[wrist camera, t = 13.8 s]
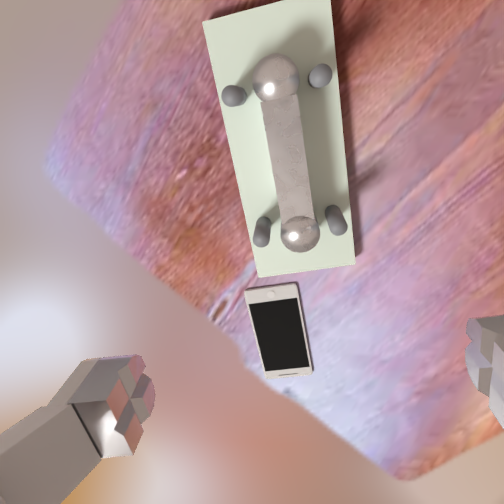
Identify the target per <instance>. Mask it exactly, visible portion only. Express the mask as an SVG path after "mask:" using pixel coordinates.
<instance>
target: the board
mask: <svg viewBox="0 0 504 504" xmlns="http://www.w3.org/2000/svg"><path fill="white" fill-rule="evenodd" d="M202 24H203V28H204V33H205V37H206V42H207V46H208V51H209V55H210V60H211V64H212V69H213V73H214V78H215V82H216V87H217V91H218V96H219V101H220V105H221V110H222V114H223V119H224V123H225V128H226V132H227V137H228V141H229V146H230V150H231V155H232V159H233V164H234V168H235V173H236V177H237V182H238V187H239V191H240V196H241V200H242V205H243V209H244V214H245V218H246V223H247V227H248V232H249V236H250V241H251V245H252V250H253V254H254V259H255V263H256V268H257V272H258V277H259V278H261V277H268V276H275V275H282V274H289V273H297V272H304V271H311V270H318V269H325V268H333V267H340V266H347V265H354V264H356V263H355V252H354V242H353V231H352V221H351V210H350V200H349V189H348V179H347V168H346V158H345V147H344V137H343V126H342V116H341V105H340V95H339V84H338V74H337V63H336V53H335V42H334V32H333V21H332V11H331V0H282V1H279V2H275V3H271V4H268V5H264V6H260V7H256V8H253V9H249V10H245V11H241V12H238V13H234V14H230V15H226V16H223V17H219V18H215V19H212V20H208V21H204V22H202ZM274 53H279V54H284V55H286V56H288V57H289V58H290V59H292V60H293V62H294V63H295V64H296V66H297V69H298V72H299V86H298V89H297V91H296V93H295V94H297V97H298V104H299V111H300V118H301V125H302V133H303V140H304V147H305V154H306V161H307V169H308V176H309V183H310V190H311V197H312V205H313V211H314V213H315V214H316V217H317V221H318V225H319V229H320V239H319V241H318V243H317V245H316V246H315V247H314V248H313V249H311V250H309V251H307V252H303V253H297V252H293V251H291V250H289V249H287V248H286V247H285V246H284V244H283V243H282V241H281V236H280V232H281V216H280V210H279V204H278V199H277V193H276V188H275V182H274V176H273V171H272V165H271V160H270V154H269V148H268V143H267V137H266V132H265V126H264V120H263V115H262V109H261V104H260V102H262V101H261V100H260V99H259V98H258V97H257V95H256V93H255V91H254V89H253V83H252V77H253V72H254V69H255V67H256V65H257V64H258V62H259V61H260V60H261V59H262V58H264V57H265V56H267V55H270V54H274Z"/></svg>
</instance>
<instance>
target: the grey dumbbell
mask: <svg viewBox="0 0 504 504" xmlns="http://www.w3.org/2000/svg"><path fill="white" fill-rule="evenodd" d="M252 83H253V89H254V91H255V93H256V95H257V97H258V98H259V99H260V100H261V101H262V102H260V104H261V109H262V115H263V120H264V126H265V132H266V137H267V143H268V148H269V154H270V160H271V165H272V171H273V176H274V182H275V188H276V193H277V199H278V204H279V210H280V216H281V232H280V236H281V241H282V243H283V244H284V246H285V247H286V248H287V249H289V250H291V251H293V252H297V253H303V252H307V251H309V250H311V249H313V248H314V247H315V246H316V245H317V243H318V241H319V239H320V229H319V225H318V221H317V217H316V214H315V213H314V211H313V205H312V197H311V190H310V183H309V176H308V169H307V161H306V154H305V147H304V140H303V133H302V125H301V118H300V111H299V104H298V97H297V94H295V93H296V91H297V89H298V86H299V72H298V69H297V66H296V64H295V63H294V62H293V60H292V59H290V58H289V57H288V56H286V55H284V54H279V53H274V54H270V55H267V56H265V57H264V58H262V59H261V60H260V61H259V62H258V64H257V65H256V67H255V69H254V72H253V77H252Z"/></svg>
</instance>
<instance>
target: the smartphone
mask: <svg viewBox="0 0 504 504" xmlns="http://www.w3.org/2000/svg"><path fill="white" fill-rule="evenodd" d="M244 296H245V300H246V304H247V308H248V312H249V316H250V320H251V324H252V328H253V332H254V336H255V339H256V343H257V347H258V351H259V355H260V359H261V363H262V367H263V371H264V375H265V378H266V379H274V378H284V377H294V376H304V375H311V374H312V365H311V360H310V354H309V349H308V343H307V338H306V332H305V327H304V322H303V316H302V311H301V305H300V300H299V294H298V289H297V285H296V284H295V283H289V284H282V285H275V286H268V287H261V288H254V289H246V290H245V292H244Z"/></svg>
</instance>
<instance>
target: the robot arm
mask: <svg viewBox="0 0 504 504" xmlns="http://www.w3.org/2000/svg"><path fill="white" fill-rule="evenodd" d="M466 334H467V335H468V336H469V338H470V339H471V340H472V342H471V343H470V344H469V345H468V346H467V347H466V349H465V361H466V365H467V370H468V373H469V375H470V378H471V380H472V382H473V383H474V385H475V387H476V388H477V390H478V391H480V392H482V393H483V394H485V395H487V396H488V397H489V408H490V410H491V411H492V413H493V414H494V416H495V417H496V419H497V420H498V422H499V423H500V425H501V426H502V428H503V429H504V315H495V316H486V317H477V318H469V320H468V322H467V327H466ZM145 367H146V366H145V363H144V361H143V359H142V357H141V356H139V355H125V356H113V357H103V358H93V359H86V360H84V361H82V362H81V363H80V364H79V365H78V367H77V368H76V369H75V370H74V372H73V373H72V374H71V375H70V377H69V378H68V379H67V381H66V382H65V383H64V384H63V386H62V387H61V388H60V390H59V391H58V392H57V394H56V395H55V396H54V397H53V398H52V400H51V401H50V402H49V404H48V405H47V406H46V407H40V408H39V409H37V410H36V411H34V412H33V413H31V414H30V415H28V416H27V417H25V418H24V419H22V420H21V421H19V422H18V423H16V424H15V425H13V426H12V427H10V428H9V429H7V430H6V431H4V432H3V433H2V434H0V504H61V503H62V501H63V500H64V499H65V498H66V497H67V496H68V495H69V494H70V493H71V492H72V491H73V490H74V489H75V488H76V487H77V486H78V485H79V483H80V482H81V481H82V480H83V479H84V478H85V477H86V476H87V475H88V474H89V473H90V472H91V471H92V470H93V468H95V466H96V465H97V464H98V463H99V462H100V461H101V458H107V457H108V458H109V457H119V456H131V455H134V452H135V450H136V448H137V445H138V443H139V441H140V438H141V436H142V434H143V428H142V425H141V424H142V423H143V422H144V421H145V420H146V419H147V418H148V417H149V416H150V415H151V412H152V410H153V407H154V401H155V390H154V385H153V383H152V380H151V379H150V378H149V377H148V376H146V375H145V374H144V373H143V372H144V369H145Z"/></svg>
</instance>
